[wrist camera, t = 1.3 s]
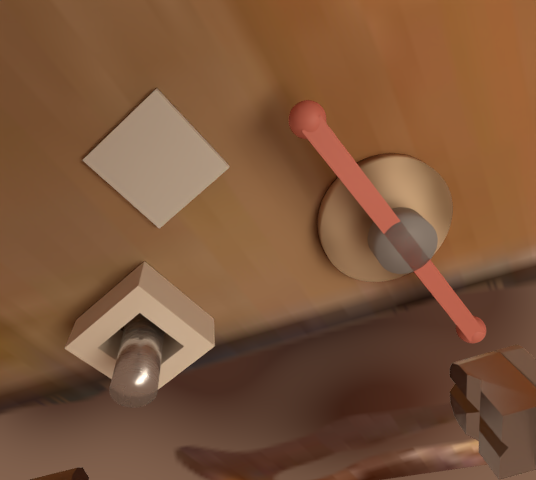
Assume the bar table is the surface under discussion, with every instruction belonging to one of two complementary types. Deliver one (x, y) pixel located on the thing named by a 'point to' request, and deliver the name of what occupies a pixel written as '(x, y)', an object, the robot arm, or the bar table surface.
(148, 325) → the hook peg
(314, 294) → the bar table surface
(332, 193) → the round tan disc
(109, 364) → the eye block
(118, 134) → the pad
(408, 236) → the pink rod with bead
